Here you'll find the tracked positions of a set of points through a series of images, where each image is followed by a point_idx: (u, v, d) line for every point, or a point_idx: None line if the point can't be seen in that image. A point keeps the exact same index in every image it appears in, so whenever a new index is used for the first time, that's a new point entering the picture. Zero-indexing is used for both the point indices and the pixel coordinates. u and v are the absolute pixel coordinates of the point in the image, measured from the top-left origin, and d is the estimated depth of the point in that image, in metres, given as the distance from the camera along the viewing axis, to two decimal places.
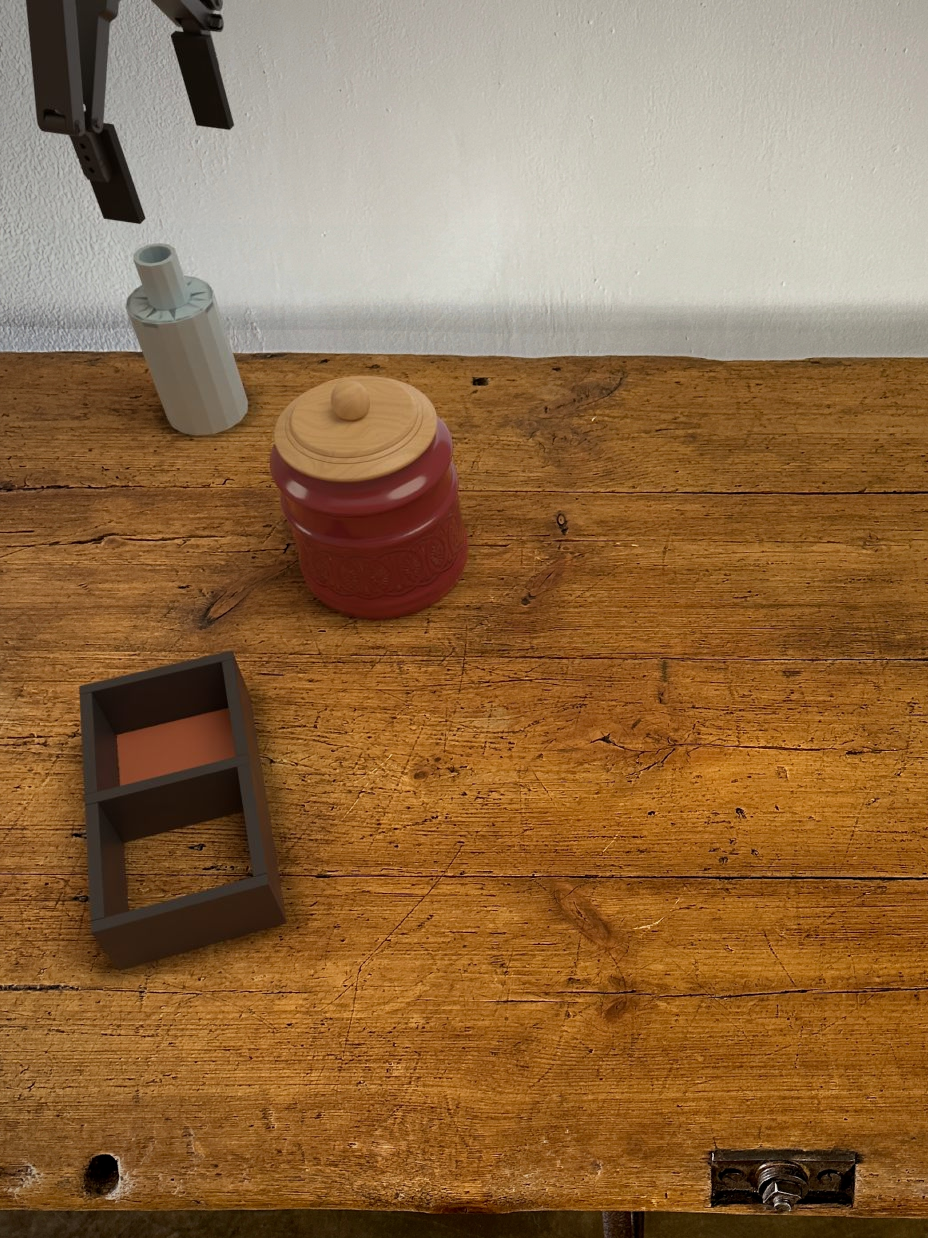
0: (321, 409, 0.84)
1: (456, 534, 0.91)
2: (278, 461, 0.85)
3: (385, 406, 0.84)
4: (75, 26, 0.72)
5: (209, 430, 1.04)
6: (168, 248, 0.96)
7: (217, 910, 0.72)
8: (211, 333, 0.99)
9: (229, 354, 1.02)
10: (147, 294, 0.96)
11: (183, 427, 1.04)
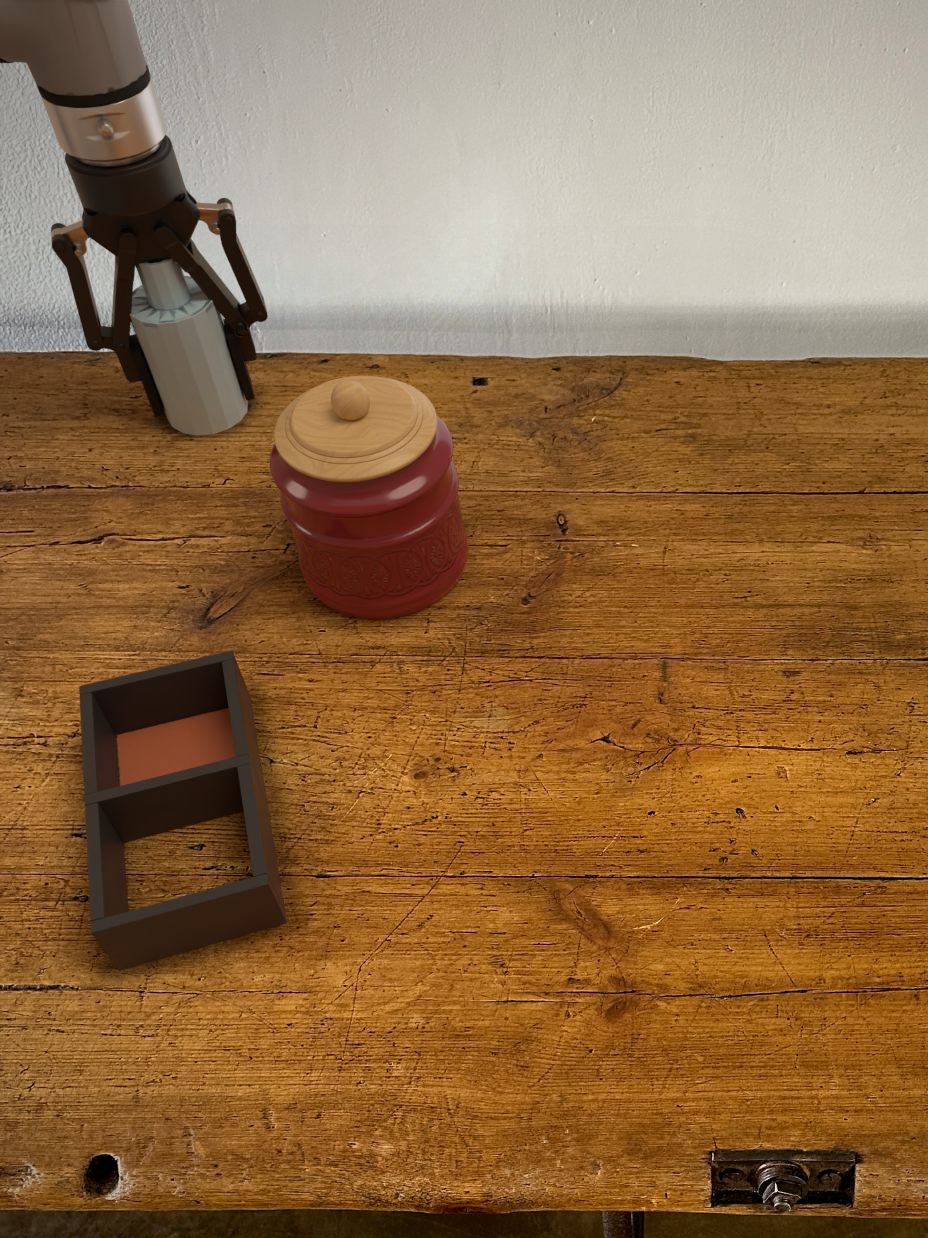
0: (321, 409, 0.84)
1: (456, 534, 0.91)
2: (278, 461, 0.85)
3: (384, 406, 0.84)
4: (84, 283, 0.94)
5: (209, 430, 1.04)
6: None
7: (217, 910, 0.72)
8: (211, 333, 0.99)
9: (229, 354, 1.02)
10: (147, 294, 0.96)
11: (183, 427, 1.04)
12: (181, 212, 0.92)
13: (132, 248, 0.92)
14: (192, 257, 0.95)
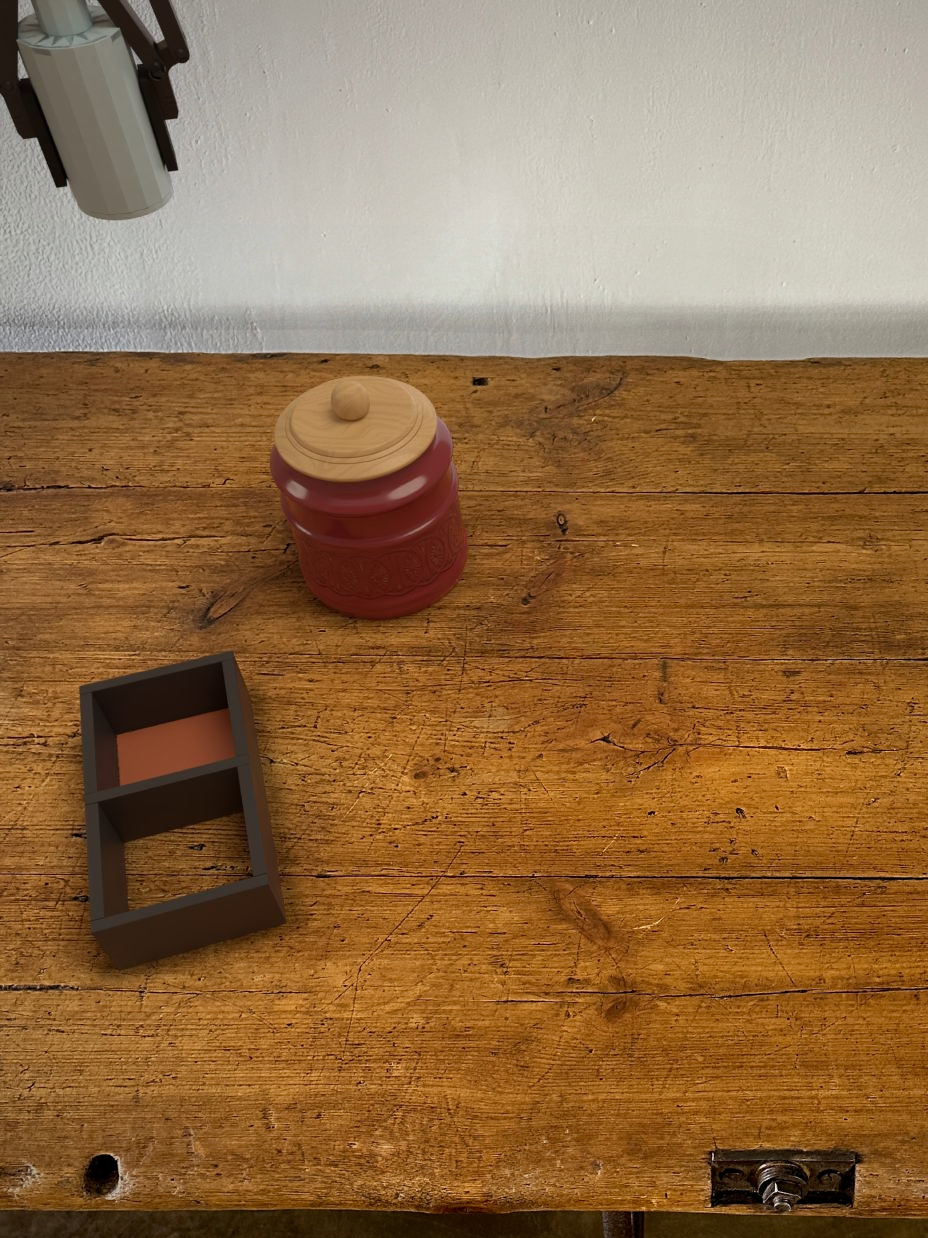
0: (321, 409, 0.84)
1: (456, 534, 0.91)
2: (278, 461, 0.85)
3: (384, 406, 0.84)
4: None
5: (122, 204, 0.86)
6: None
7: (217, 910, 0.72)
8: (119, 71, 0.81)
9: (144, 106, 0.84)
10: (38, 15, 0.78)
11: (90, 200, 0.86)
12: None
13: None
14: None
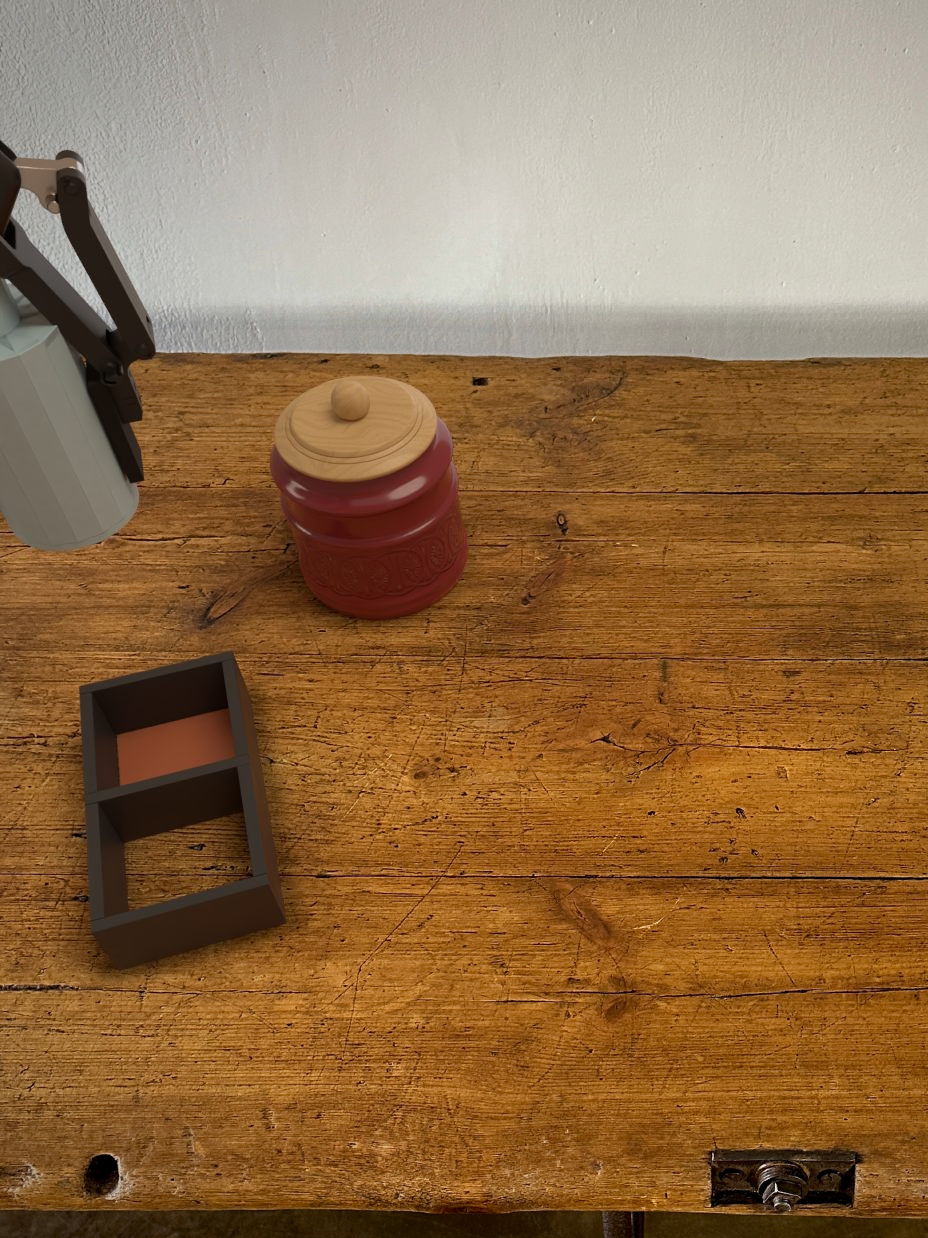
0: (321, 409, 0.84)
1: (456, 534, 0.91)
2: (278, 461, 0.85)
3: (384, 406, 0.84)
4: None
5: (69, 534, 0.64)
6: None
7: (217, 910, 0.72)
8: (58, 381, 0.59)
9: (95, 412, 0.62)
10: None
11: (25, 530, 0.64)
12: None
13: None
14: (12, 253, 0.55)
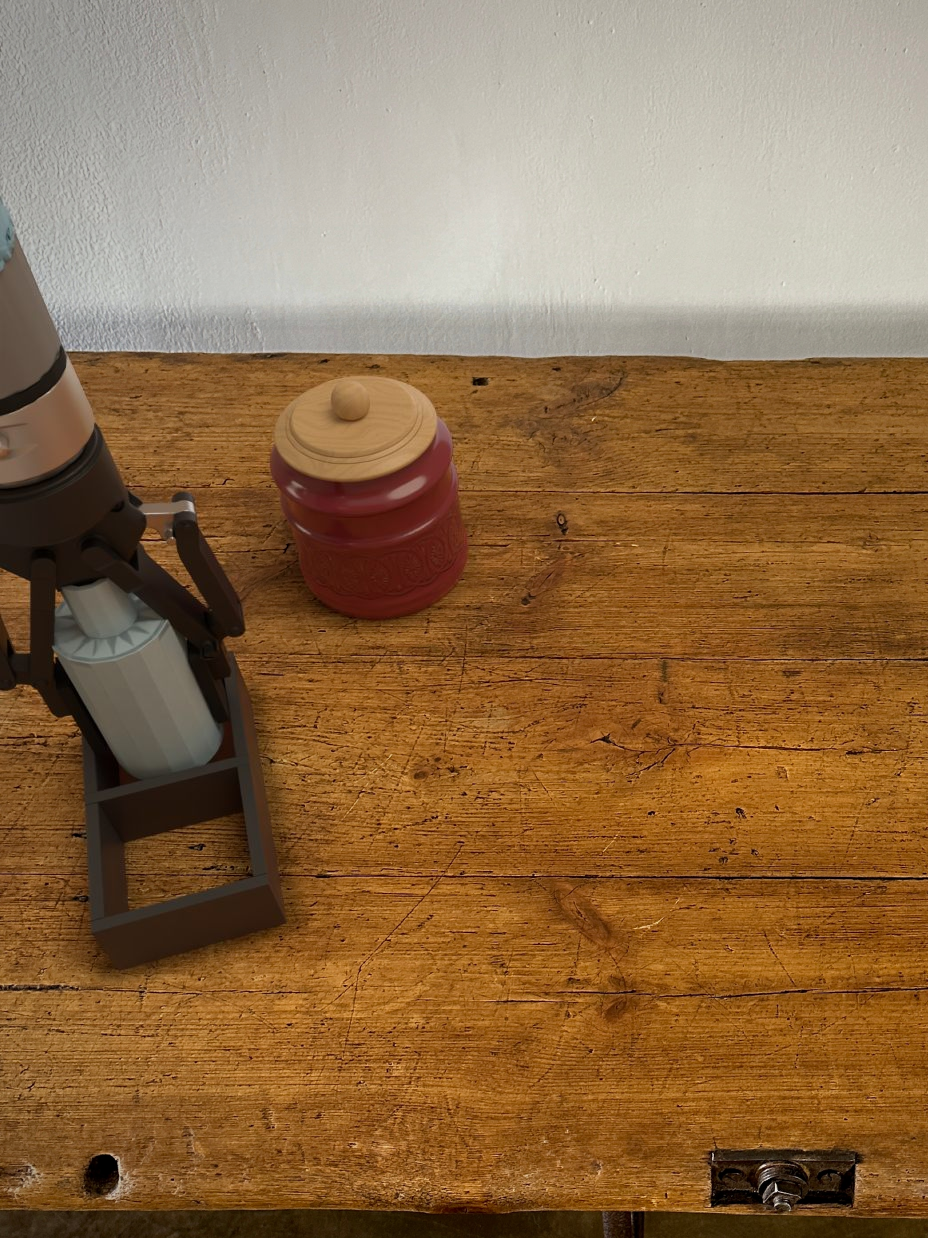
0: (321, 409, 0.84)
1: (456, 534, 0.91)
2: (278, 461, 0.85)
3: (384, 406, 0.84)
4: None
5: (168, 770, 0.77)
6: None
7: (217, 910, 0.72)
8: (167, 662, 0.72)
9: (193, 676, 0.75)
10: (76, 619, 0.69)
11: (132, 767, 0.77)
12: (119, 523, 0.65)
13: (50, 575, 0.65)
14: (137, 576, 0.67)
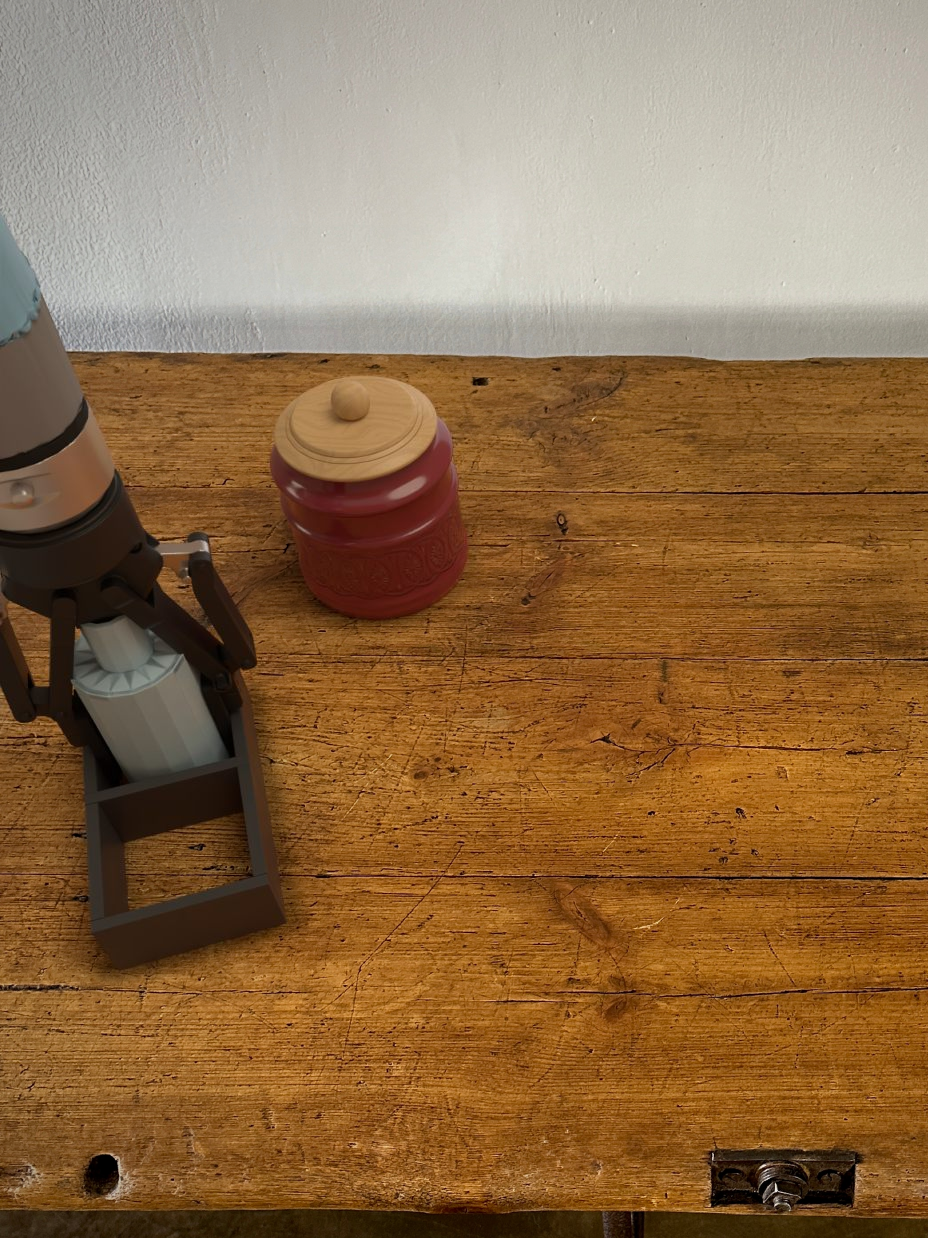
0: (321, 409, 0.84)
1: (456, 534, 0.91)
2: (278, 461, 0.85)
3: (384, 406, 0.84)
4: (6, 653, 0.69)
5: None
6: None
7: (217, 910, 0.72)
8: (182, 695, 0.74)
9: (207, 707, 0.77)
10: (94, 654, 0.71)
11: None
12: (137, 564, 0.67)
13: (70, 614, 0.67)
14: (154, 613, 0.70)
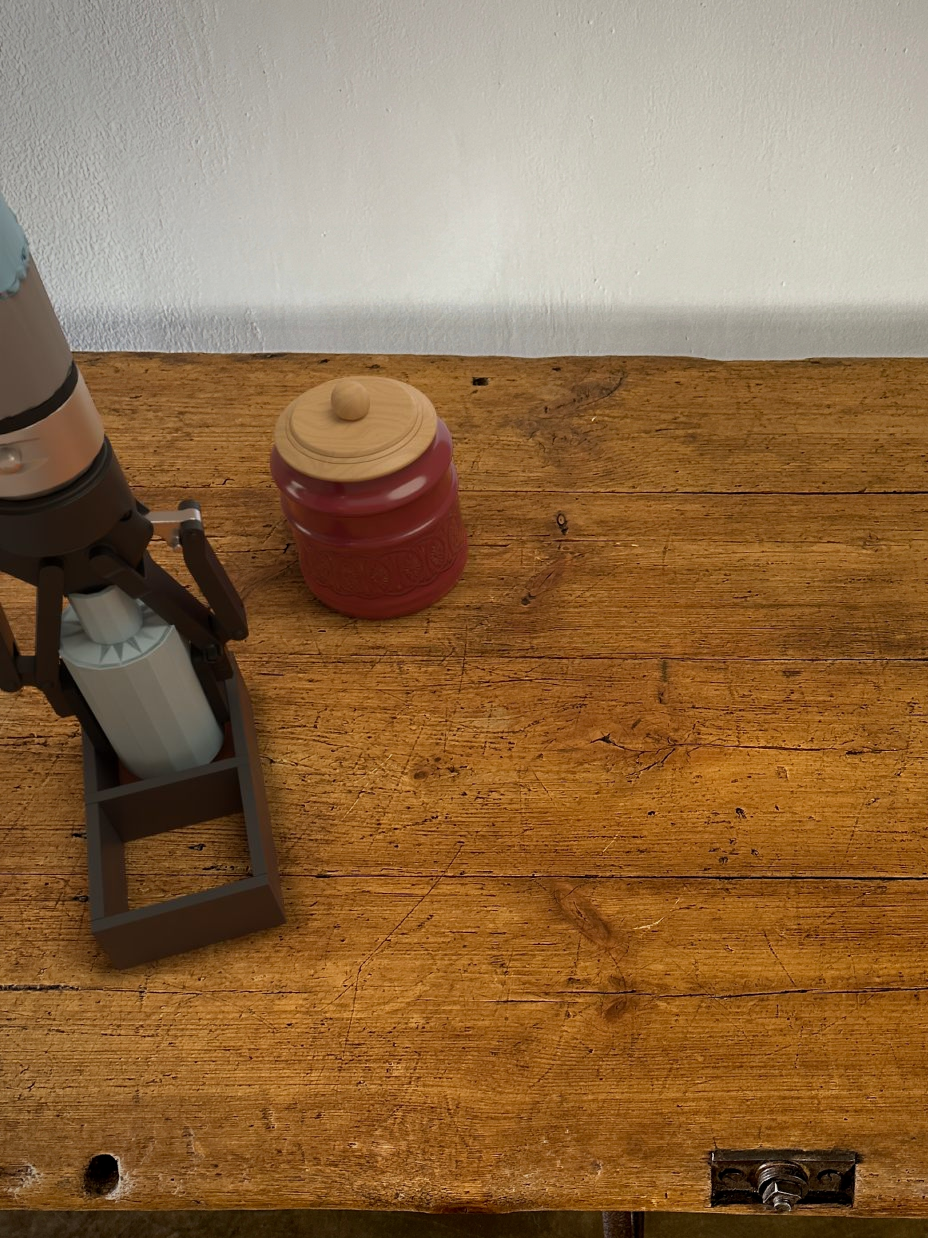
0: (321, 409, 0.84)
1: (456, 534, 0.91)
2: (278, 461, 0.85)
3: (384, 406, 0.84)
4: None
5: (172, 770, 0.78)
6: None
7: (217, 910, 0.72)
8: (173, 667, 0.73)
9: (197, 679, 0.76)
10: (83, 625, 0.70)
11: (136, 768, 0.78)
12: (127, 532, 0.66)
13: (58, 582, 0.66)
14: (144, 582, 0.68)
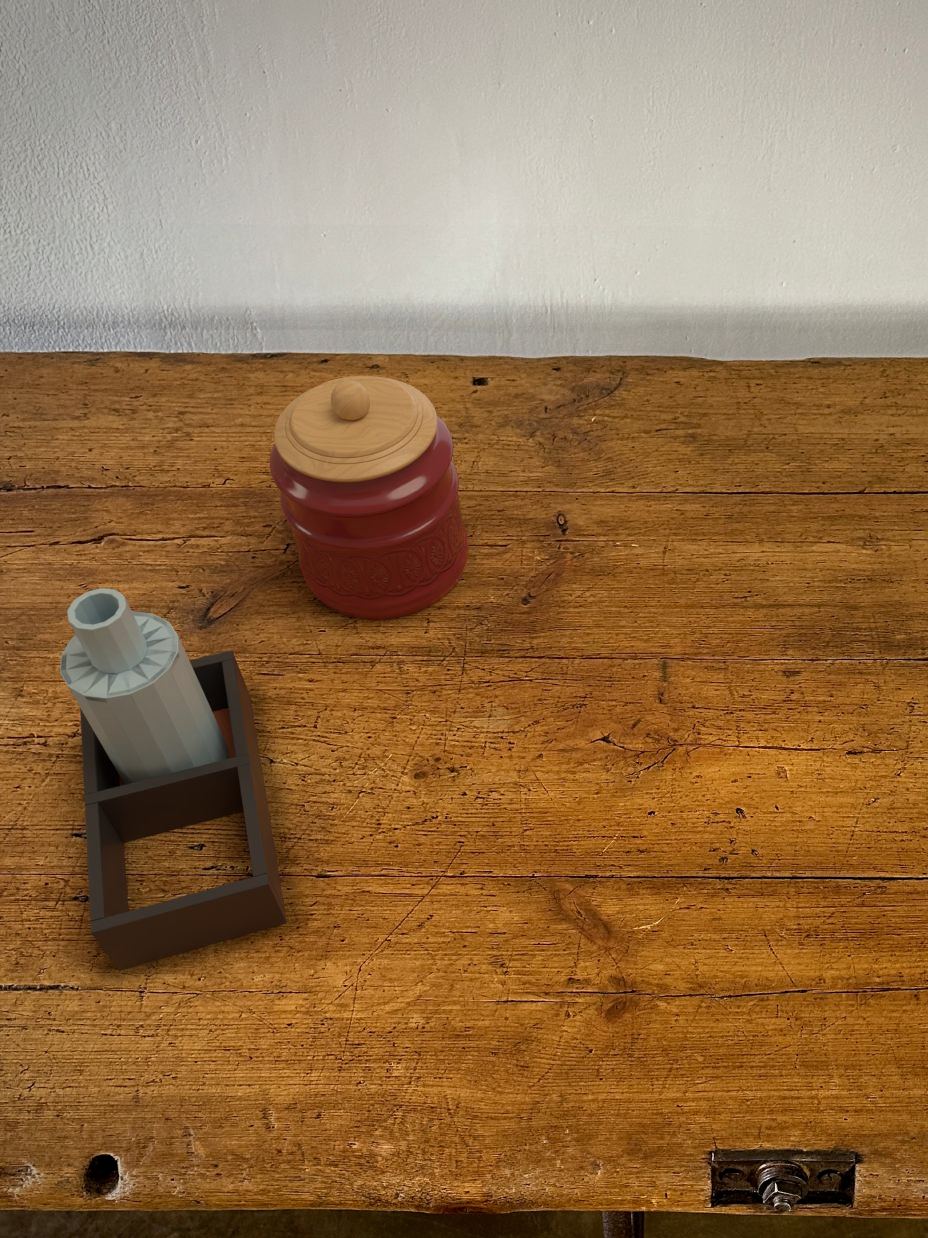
0: (321, 409, 0.84)
1: (456, 534, 0.91)
2: (278, 461, 0.85)
3: (384, 406, 0.84)
4: None
5: None
6: (115, 596, 0.71)
7: (217, 910, 0.72)
8: (179, 692, 0.74)
9: (202, 704, 0.77)
10: (89, 656, 0.71)
11: None
12: None
13: None
14: None
